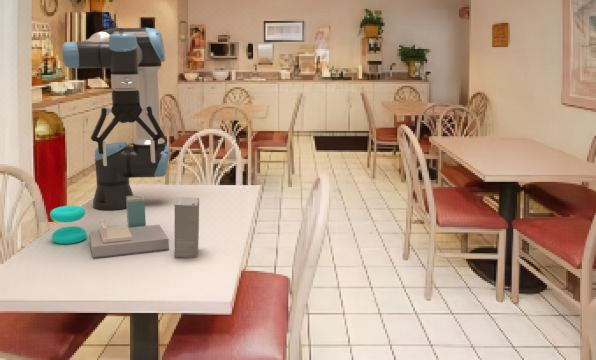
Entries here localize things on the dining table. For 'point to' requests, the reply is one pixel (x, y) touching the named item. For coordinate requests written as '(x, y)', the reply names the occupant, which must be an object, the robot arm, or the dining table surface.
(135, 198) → the green rectangular box
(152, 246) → the socket plate
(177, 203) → the skincare box
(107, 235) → the shutter
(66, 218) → the donuts
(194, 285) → the dining table surface
